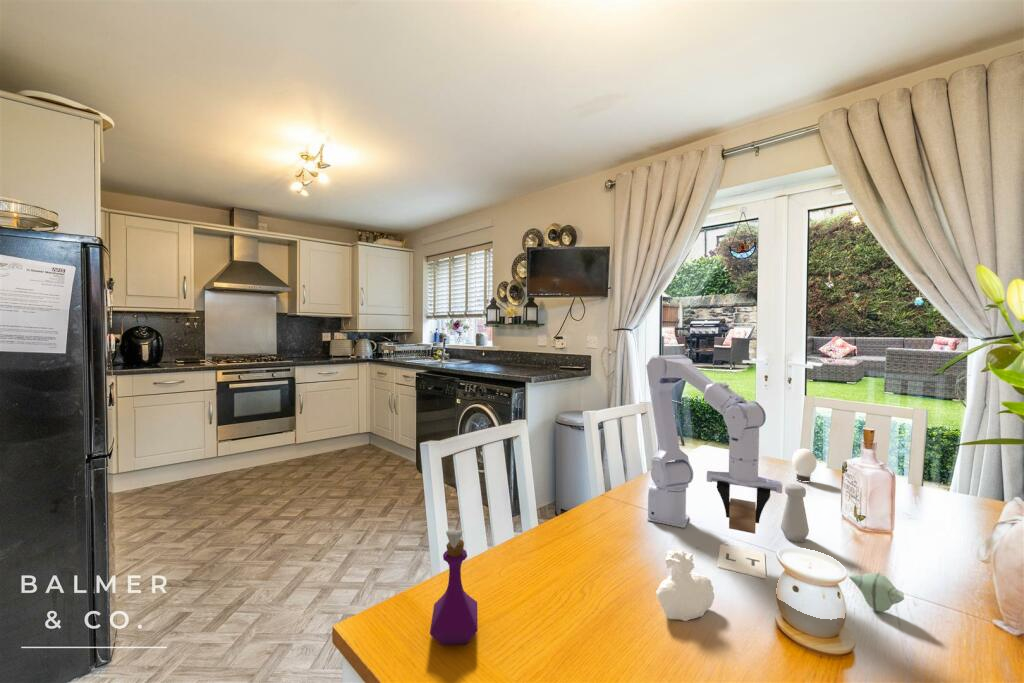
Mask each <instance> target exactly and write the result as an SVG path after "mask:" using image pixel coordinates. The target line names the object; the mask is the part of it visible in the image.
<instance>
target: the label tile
mask: <svg viewBox="0 0 1024 683" xmlns="http://www.w3.org/2000/svg"><path fill="white" fill-rule="evenodd" d="M717 559H718V560H717V565H716V566H717V568H719V569H723V570H728V571H731V572H736V573H739V574H740V573H741V574H744V575H748V576H753V577H756V578H761V579H764V578H765V580H766V579H767V576H766V575H767V574H766V572H767V571H766V554H765V553H764V552H759V551H754V550H749V549H744V548H741V547H737V546H736V547H735V546H730V545H727V544H722V543H721V544H720V546H719V552H718V558H717Z"/></svg>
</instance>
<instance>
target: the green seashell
mask: <svg viewBox="0 0 1024 683" xmlns="http://www.w3.org/2000/svg"><path fill="white" fill-rule="evenodd" d="M848 578H849V580H851V581H852V582H853V583H854V585H856V587H857V588H858V589H859V591H860V592H861V594H862V596H863V597H864V600H865V602H866V603H867V605H868V606H869V607H870V608H871V609H872V610H873V611H875V612H879V613H882V612H883V613H884V612H887V611H889V609H891V608H892V606H893V605H895V604H896V605H897V604H899V603H901V602H903V601H904V600H905V594H904V592H903V591H901V590H899V589H898V588H896V587H895V585H894V584H893V583H892V582H891V580H890V579H889V578H888V577H887V576H886V575H884V574H883V573H880V572H876V571H873V572H869V573H863V574H858V573H853V574H851V575H849V576H848Z"/></svg>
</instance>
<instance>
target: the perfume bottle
mask: <svg viewBox="0 0 1024 683" xmlns="http://www.w3.org/2000/svg"><path fill="white" fill-rule="evenodd" d="M463 532H464V530H460V529H459V530H456V529H453V530H446V531H445V533H446V536H447V539H448V542H447V544H446V550H445V551H444V553H443V554H442V558H443V561H445V562H446V563H447V564H448V569H449V574H448V583H447V588H446V590H445V591H444V593H443V595H441V597H440V598H438V600H437V601H436V602H435V603H434V604H433V607H432V608H433V610H432V616H431V622H430V629H429V630H430V631H429V634H430V636H431V637H432V638H433V639H434V640H435V641H437V643H438V644H439V645H441V646H442V645H446V646H455V645H454V644H463V645H467V644H468V643H470V641H471V640H472V639H473V637H474V636H475V635H476V634H477V632H478V629H479V628H478V601H476V600H475V598H473V597H472V596H470V595H469V594H467V592H466V591H465V590H464V587H463V584H462V583H463V582H462V574H461V573H462V572H461V569H462V564H463V561H465V560H466V559H467V557H468V553H467V550H465V549H464V546H465V542H464V540H462V539H461V538H462V535H463Z"/></svg>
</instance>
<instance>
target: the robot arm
mask: <svg viewBox="0 0 1024 683" xmlns="http://www.w3.org/2000/svg"><path fill="white" fill-rule="evenodd" d="M645 366H646V372H647V373H646V374H647V378H648V379H647V380H648V385H649V386H648V387H649V393H650V400H651V408H652V414H653V420H654V427H655V428H654V429H655V434H656V435H655V436H656V440H657V448H658V450H657V451H656V453H655V454H654V455H653V456H652V457H651V458H650V460H651V468H650V476H651V480H652V482H653V483H652V482H651V483H650V484H649V487H648V494H647V495H648V496H647V517H646V518H647V519H646V520H647V521H650V522H654V523H658V524H664V525H668V526H673V527H677V528H683V529H685V528H686V526H687V524H688V521H689V518H690V515H689V514H687V489H688V488H689V484H691V483H692V481H693V479H694V469H693V468H692V465H691V462H690V460H689V456H688V454H687V453H685V452H684V451H682V449H681V447H680V442H679V437H678V430H677V423H676V417H675V416H676V415H675V410H674V405H673V404H674V403H673V397H672V396H673V395H672V390H673V388H674V387H676V386H677V384H679V383H680V382H682V381H685V382H687V383H688V384H689V385H691V387H693V388H695V389H696V390H698V391H699V392H701V393H702V394H703V399H704V401H705V402H706V403H707V404H708V405H709V406H711V408H713V409H714V410H716V411H717V412H718V413H719V414H721V416H723V421H724V423H725V425H726V427H727V434H728V436H729V437H728V438H729V441H728V442H729V443H728V471H711V470H707V472H706V482H707V483H712V482H716V489H717V492H718V494H719V496H720V498H721V500H722V503H723V506H724V510H725V517H726V518H728V519H729V505H730V498H731V497H730V496H731V495H730V493H731V492H730V490H731V485H734V486H739V487H746V488H751V489H756V524H760V520H761V516H762V513H763V511H764V508H765V507H766V504H767V503H768V501H769V500H770V499H771V498H770V497H771V492H775V493H777V494H782V493H783V482H782V481H779V480H774V479H769V478H767V477H761V476H759V457H760V456H759V455H760V454H759V453H760V452H759V451H760V450H759V449H760V428H762V427H763V426H764V424H765V423H766V419H767V415H766V411H765V410H764V409H765V408H763V406H762V405H760V403H759V402H758V401H756V400H755V401H754V400H753V401H752V400H750V401H748V400H747V399H745V397H744V396H742V395H739V394H737V392H735V391H734V390H732V389H731V388H730V385H729V384H727V383H726V382H714V381H713V380H711V379H710V378H709V377H708V376H707V375H705V373H703V372H702V371H701V370H700V368H699V369H698V367H696V366H695V365H694V362H693V360H692V359H691V358H688V356H686V355H685V354H674V355H672V354H671V355H670V354H669V355H668V354H667V355H659V354H658V355H657V354H655V355H654V354H653V356H651V357H650V359H649V361H648V362H647V364H646V365H645Z"/></svg>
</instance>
